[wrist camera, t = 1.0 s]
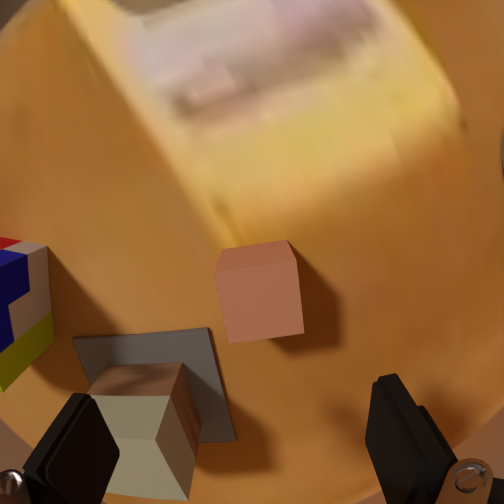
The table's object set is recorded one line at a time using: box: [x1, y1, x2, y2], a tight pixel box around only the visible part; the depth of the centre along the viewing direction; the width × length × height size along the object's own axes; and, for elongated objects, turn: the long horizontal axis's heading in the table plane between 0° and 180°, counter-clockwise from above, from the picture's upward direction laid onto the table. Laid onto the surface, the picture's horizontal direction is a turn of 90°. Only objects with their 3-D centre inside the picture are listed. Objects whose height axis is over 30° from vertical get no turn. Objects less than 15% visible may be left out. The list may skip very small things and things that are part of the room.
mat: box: [72, 327, 237, 443], centre depth 29 cm, size 14×14×1 cm
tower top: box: [90, 395, 196, 501], centre depth 21 cm, size 8×8×5 cm
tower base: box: [87, 362, 202, 458], centre depth 26 cm, size 8×8×5 cm
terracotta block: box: [214, 240, 304, 343], centre depth 23 cm, size 5×5×6 cm
